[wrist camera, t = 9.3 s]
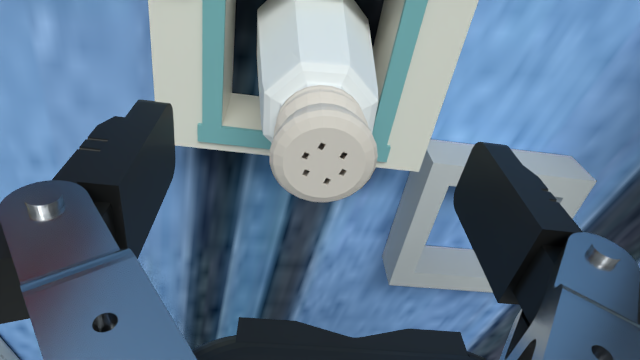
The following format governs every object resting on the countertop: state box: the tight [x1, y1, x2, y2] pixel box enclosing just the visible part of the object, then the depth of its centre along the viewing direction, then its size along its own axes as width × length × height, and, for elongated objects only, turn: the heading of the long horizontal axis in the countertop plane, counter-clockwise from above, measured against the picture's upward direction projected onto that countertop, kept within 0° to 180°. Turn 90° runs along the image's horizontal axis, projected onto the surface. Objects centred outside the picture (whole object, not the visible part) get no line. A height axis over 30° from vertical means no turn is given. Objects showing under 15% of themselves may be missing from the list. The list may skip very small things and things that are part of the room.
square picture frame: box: [382, 139, 597, 293], centre depth 25 cm, size 9×9×2 cm
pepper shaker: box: [257, 0, 378, 202], centre depth 15 cm, size 5×5×11 cm
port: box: [148, 0, 479, 172], centre depth 18 cm, size 12×9×4 cm
